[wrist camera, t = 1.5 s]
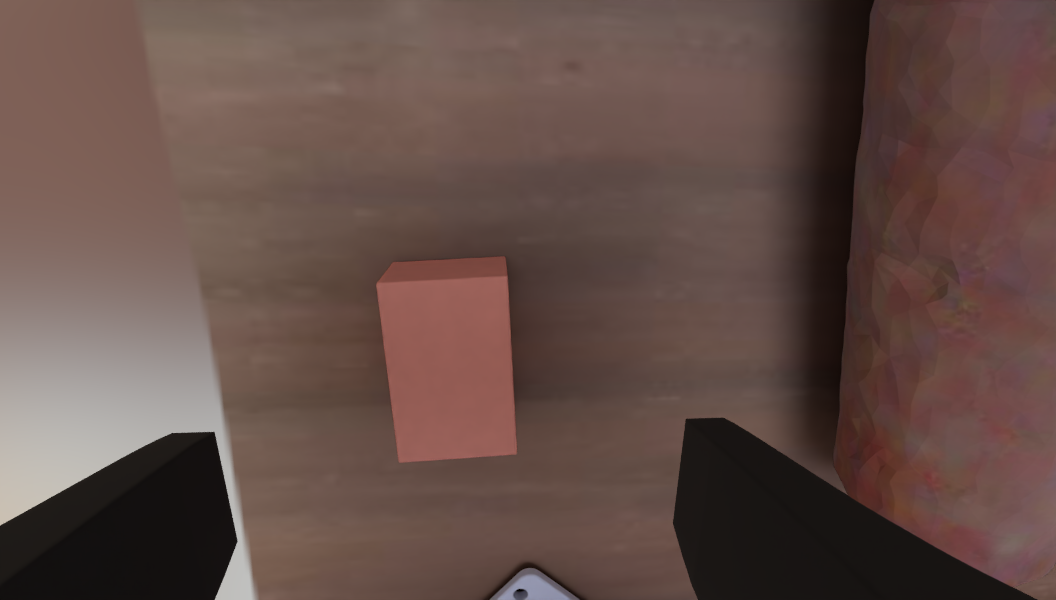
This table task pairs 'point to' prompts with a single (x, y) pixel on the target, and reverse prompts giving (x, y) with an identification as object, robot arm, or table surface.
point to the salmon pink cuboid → (449, 357)
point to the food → (956, 283)
